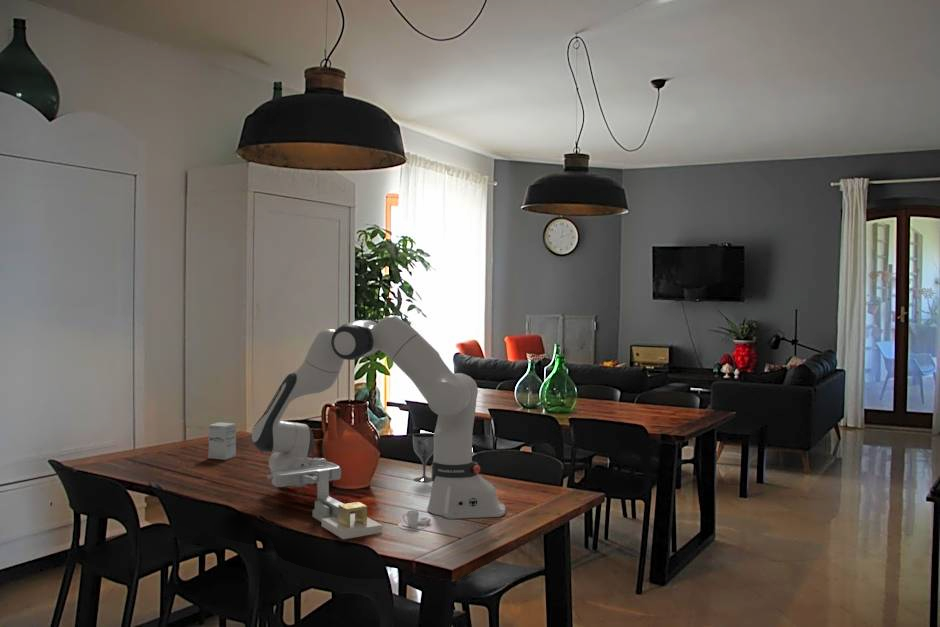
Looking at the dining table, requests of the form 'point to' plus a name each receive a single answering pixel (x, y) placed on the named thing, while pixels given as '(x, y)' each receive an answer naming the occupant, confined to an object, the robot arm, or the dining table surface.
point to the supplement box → (222, 441)
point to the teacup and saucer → (414, 520)
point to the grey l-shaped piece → (326, 492)
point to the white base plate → (351, 527)
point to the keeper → (349, 507)
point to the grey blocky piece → (321, 511)
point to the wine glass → (423, 451)
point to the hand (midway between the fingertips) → (316, 480)
